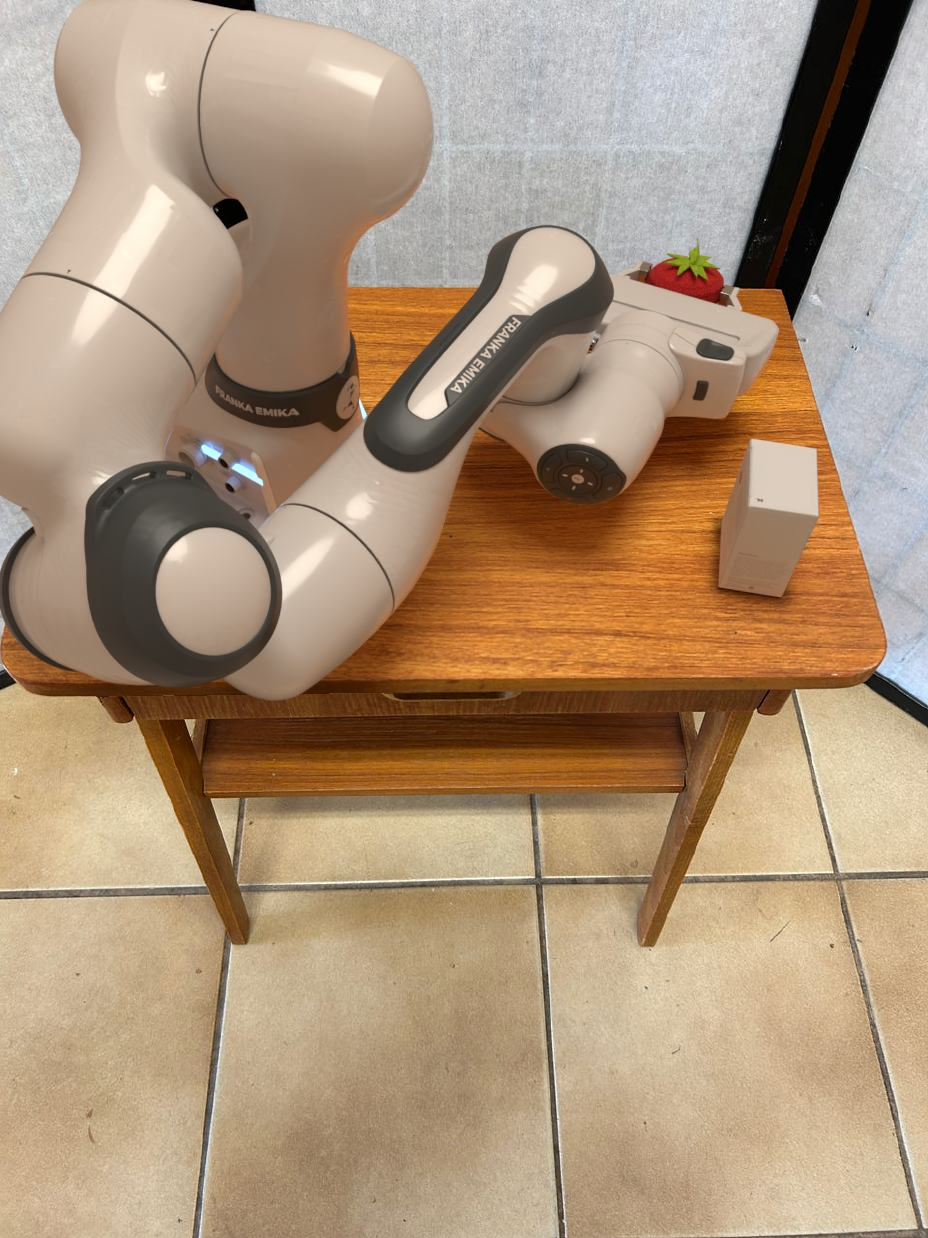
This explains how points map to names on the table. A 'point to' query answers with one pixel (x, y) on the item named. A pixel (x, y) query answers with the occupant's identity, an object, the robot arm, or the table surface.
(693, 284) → the strawberry
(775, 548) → the small box
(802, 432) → the table surface
